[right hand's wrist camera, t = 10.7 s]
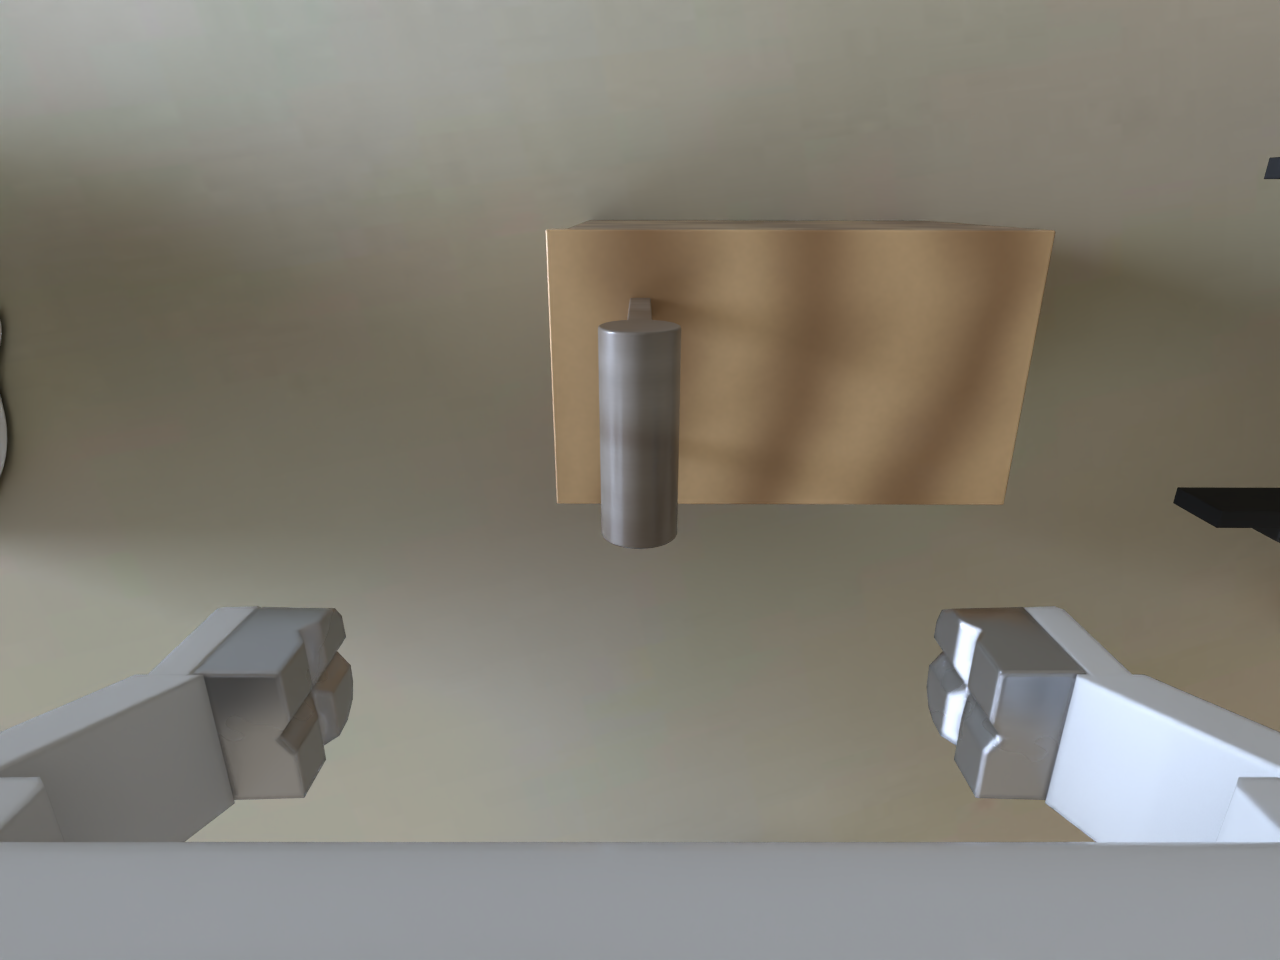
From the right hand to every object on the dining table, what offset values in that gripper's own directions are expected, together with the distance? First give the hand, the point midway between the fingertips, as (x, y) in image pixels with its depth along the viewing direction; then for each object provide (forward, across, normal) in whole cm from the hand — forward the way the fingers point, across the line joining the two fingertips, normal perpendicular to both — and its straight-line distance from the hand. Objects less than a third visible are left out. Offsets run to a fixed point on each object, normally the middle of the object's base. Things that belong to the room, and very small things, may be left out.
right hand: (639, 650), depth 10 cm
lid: (+17, +5, 0) cm, 18 cm away
